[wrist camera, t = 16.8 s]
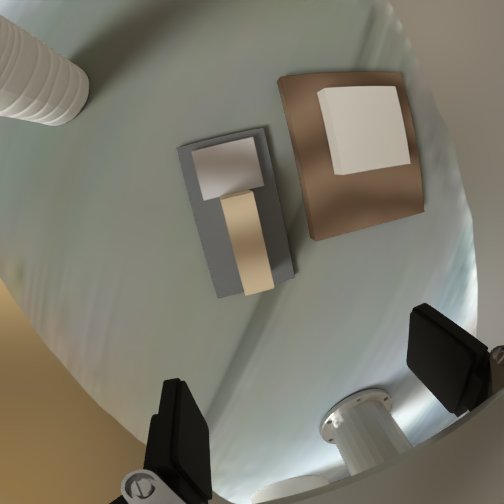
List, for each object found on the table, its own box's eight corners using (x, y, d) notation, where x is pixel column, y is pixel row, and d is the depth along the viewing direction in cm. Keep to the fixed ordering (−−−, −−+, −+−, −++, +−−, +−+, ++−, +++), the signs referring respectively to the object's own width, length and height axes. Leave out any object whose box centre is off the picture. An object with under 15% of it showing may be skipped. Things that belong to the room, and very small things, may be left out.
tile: (410, 163, 25) (395, 86, 22) (342, 175, 24) (324, 88, 22) (399, 163, 27) (384, 89, 24) (333, 174, 26) (316, 92, 24)
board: (416, 209, 30) (424, 211, 29) (310, 237, 29) (315, 241, 28) (393, 75, 25) (400, 73, 24) (276, 81, 24) (280, 76, 23)
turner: (280, 269, 29) (290, 283, 25) (226, 284, 28) (229, 300, 25) (251, 137, 25) (258, 133, 21) (191, 152, 24) (189, 149, 21)
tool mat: (293, 275, 30) (294, 277, 29) (217, 295, 29) (217, 298, 29) (262, 128, 25) (263, 127, 25) (177, 148, 25) (176, 148, 24)
